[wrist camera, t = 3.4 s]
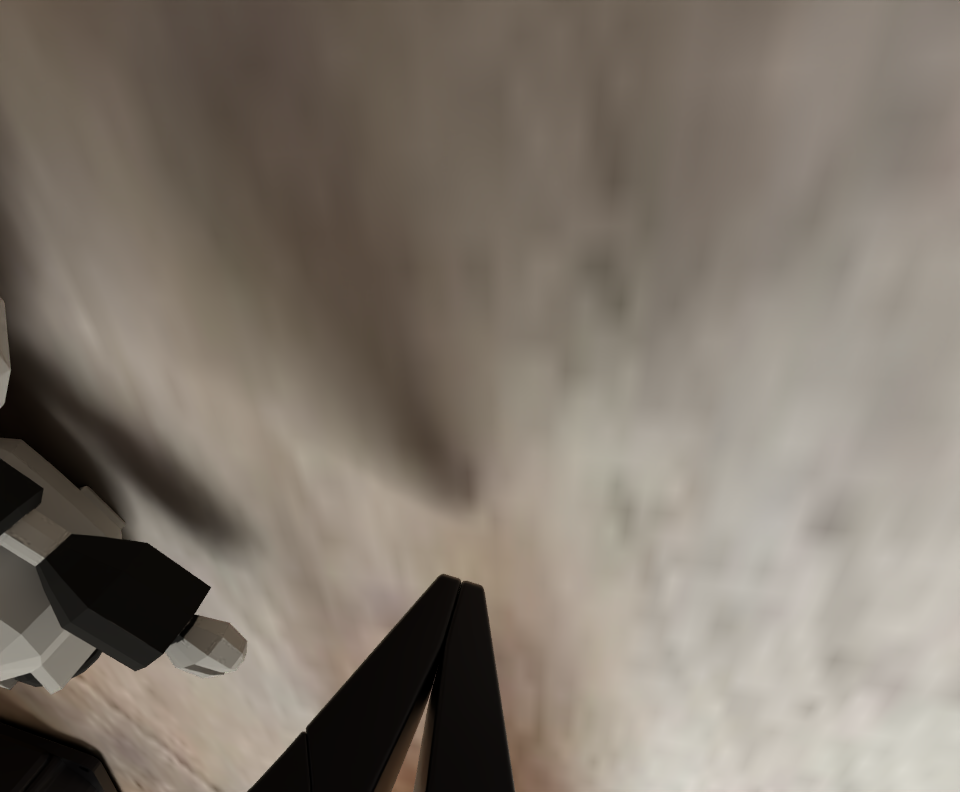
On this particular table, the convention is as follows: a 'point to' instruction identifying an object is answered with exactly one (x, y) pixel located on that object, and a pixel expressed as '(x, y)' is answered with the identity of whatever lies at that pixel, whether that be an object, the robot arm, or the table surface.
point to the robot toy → (88, 581)
